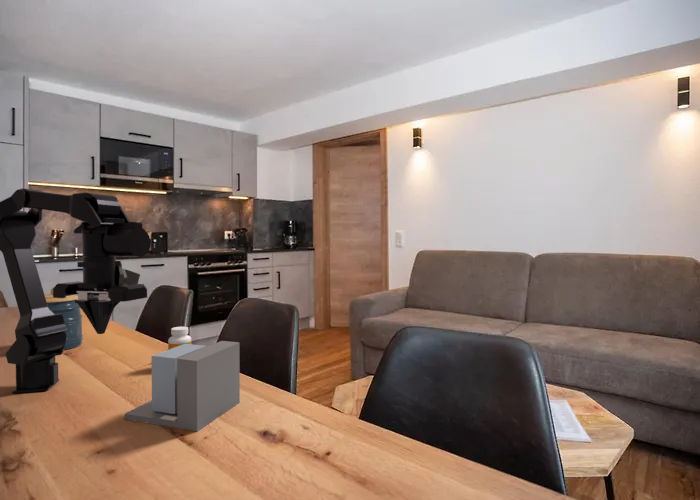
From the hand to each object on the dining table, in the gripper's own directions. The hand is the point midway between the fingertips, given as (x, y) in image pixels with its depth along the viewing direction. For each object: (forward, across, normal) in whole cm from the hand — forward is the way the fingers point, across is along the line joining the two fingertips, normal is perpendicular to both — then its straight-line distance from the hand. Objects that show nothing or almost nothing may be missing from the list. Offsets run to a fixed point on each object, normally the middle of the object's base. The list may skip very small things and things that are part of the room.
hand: (101, 333), depth 86 cm
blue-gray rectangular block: (+12, -19, 0) cm, 22 cm away
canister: (+13, +46, -26) cm, 54 cm away
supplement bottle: (+13, -1, -22) cm, 26 cm away
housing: (+13, -20, 0) cm, 24 cm away
